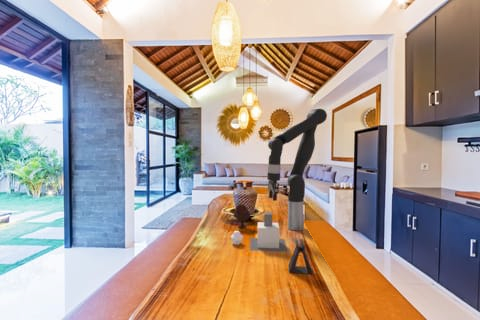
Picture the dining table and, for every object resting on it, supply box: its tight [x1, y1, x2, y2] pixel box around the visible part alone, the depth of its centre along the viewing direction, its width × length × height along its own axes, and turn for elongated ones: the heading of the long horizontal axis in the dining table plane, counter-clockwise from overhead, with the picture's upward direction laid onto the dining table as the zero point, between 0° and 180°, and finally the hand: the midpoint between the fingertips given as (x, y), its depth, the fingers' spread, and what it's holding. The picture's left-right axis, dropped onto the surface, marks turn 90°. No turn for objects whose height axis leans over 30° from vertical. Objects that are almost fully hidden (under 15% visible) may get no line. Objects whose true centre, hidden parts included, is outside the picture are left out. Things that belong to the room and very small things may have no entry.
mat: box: [249, 237, 288, 252], centre depth 138 cm, size 18×18×1 cm
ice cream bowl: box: [233, 203, 252, 229], centre depth 169 cm, size 11×11×15 cm
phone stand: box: [288, 238, 313, 275], centre depth 109 cm, size 9×6×12 cm, turn 82°
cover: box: [257, 212, 280, 248], centre depth 138 cm, size 11×11×16 cm
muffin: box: [230, 230, 244, 246], centre depth 139 cm, size 6×6×7 cm
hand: (272, 199), depth 161 cm, fingers open, 8 cm apart
